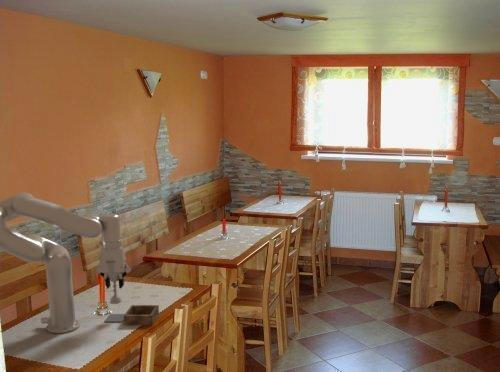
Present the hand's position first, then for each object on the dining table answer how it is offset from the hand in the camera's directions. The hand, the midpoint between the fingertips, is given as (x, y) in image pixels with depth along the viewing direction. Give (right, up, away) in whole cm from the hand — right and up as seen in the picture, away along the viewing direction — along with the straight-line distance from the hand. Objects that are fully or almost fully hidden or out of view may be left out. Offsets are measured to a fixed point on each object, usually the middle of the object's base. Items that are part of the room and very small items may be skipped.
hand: (114, 287), depth 233 cm
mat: (0, -13, +2) cm, 14 cm away
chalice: (0, -6, +1) cm, 7 cm away
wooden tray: (+11, -13, 0) cm, 17 cm away
